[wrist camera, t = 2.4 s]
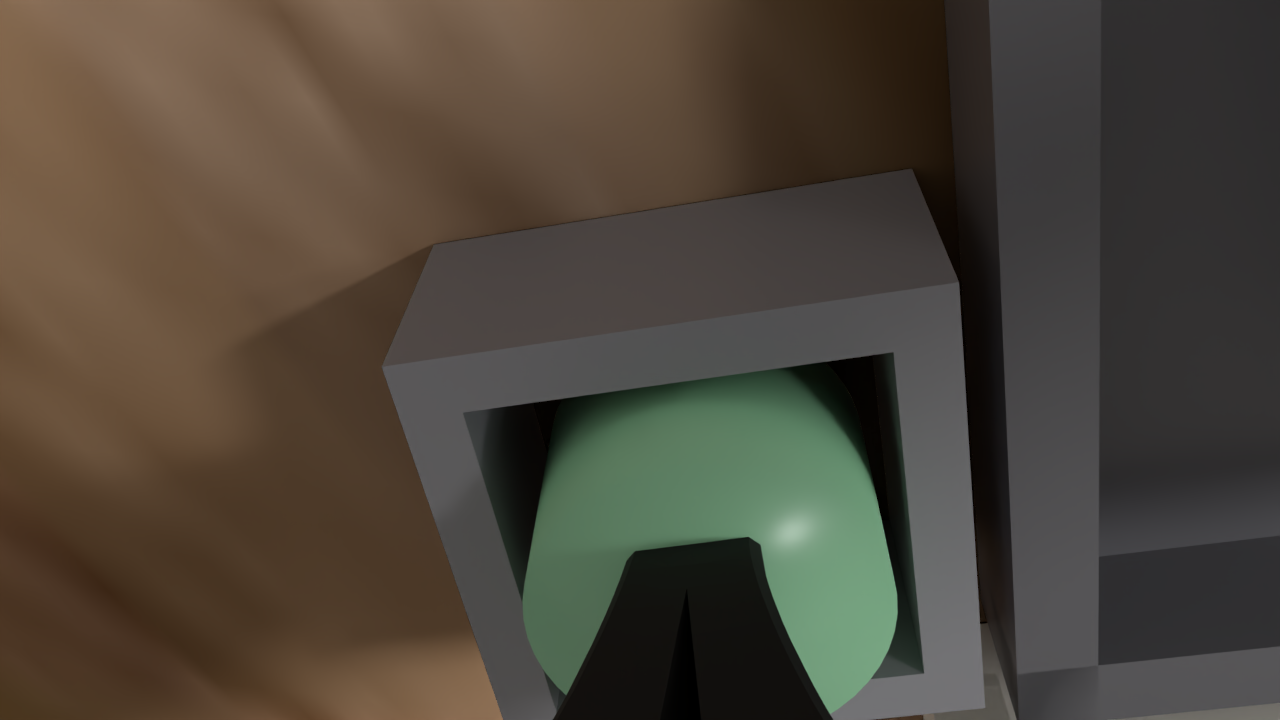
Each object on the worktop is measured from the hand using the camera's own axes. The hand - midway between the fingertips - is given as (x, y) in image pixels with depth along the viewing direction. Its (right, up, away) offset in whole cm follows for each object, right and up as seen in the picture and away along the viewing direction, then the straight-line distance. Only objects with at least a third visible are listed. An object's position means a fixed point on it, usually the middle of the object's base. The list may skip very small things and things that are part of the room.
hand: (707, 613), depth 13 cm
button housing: (0, +2, +3) cm, 4 cm away
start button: (0, +1, +3) cm, 3 cm away
